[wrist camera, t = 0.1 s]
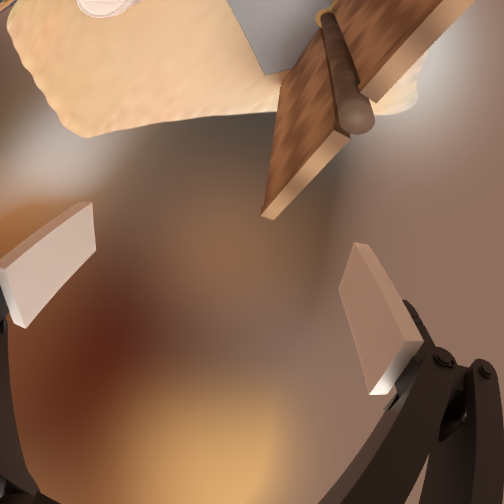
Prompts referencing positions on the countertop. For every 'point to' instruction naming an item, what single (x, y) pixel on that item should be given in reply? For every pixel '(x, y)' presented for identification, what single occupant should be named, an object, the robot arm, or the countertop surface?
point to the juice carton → (6, 4)
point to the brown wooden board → (303, 128)
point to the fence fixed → (379, 48)
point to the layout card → (279, 28)
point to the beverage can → (105, 7)
